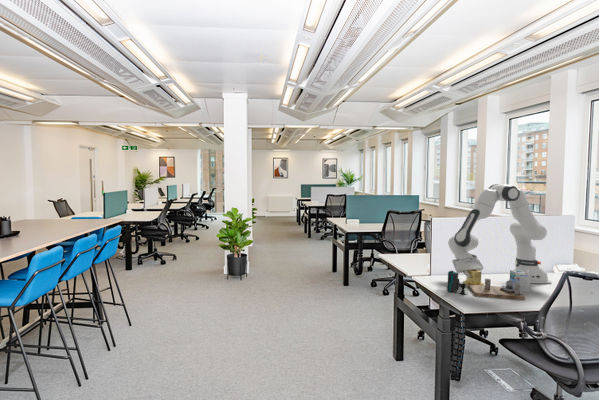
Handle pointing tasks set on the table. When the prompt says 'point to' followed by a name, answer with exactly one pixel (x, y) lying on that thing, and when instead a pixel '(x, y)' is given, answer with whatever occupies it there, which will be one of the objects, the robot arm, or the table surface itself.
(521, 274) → the light bulb box
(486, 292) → the walnut board
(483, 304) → the table surface
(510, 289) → the gear
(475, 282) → the yellow flanged housing
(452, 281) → the surveillance camera
